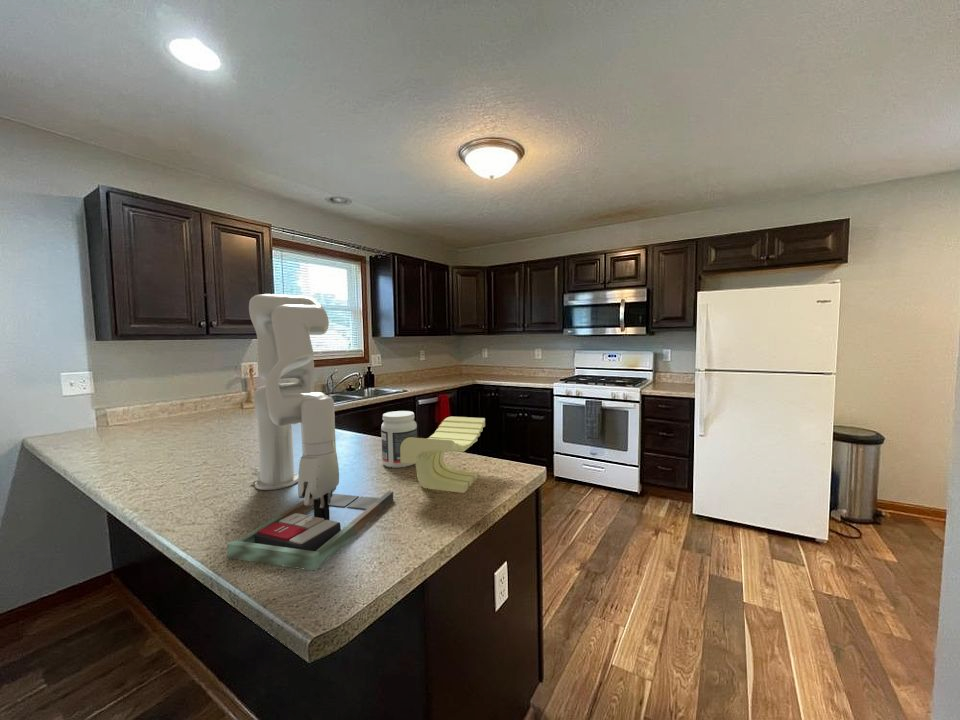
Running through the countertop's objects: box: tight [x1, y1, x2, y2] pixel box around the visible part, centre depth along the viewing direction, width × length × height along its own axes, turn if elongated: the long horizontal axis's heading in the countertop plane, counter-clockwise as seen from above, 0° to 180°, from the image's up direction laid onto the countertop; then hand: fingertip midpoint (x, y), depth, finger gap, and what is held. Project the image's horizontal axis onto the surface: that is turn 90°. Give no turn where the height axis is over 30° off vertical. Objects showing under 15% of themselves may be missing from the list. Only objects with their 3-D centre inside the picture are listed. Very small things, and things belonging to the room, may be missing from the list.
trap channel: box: [226, 491, 394, 571], centre depth 95 cm, size 21×34×3 cm, turn 166°
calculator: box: [255, 513, 342, 551], centre depth 88 cm, size 11×4×15 cm
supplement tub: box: [380, 410, 418, 469], centre depth 141 cm, size 13×13×18 cm
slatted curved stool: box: [400, 416, 486, 494], centre depth 122 cm, size 30×16×18 cm, turn 162°
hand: (321, 521), depth 95 cm, fingers closed
